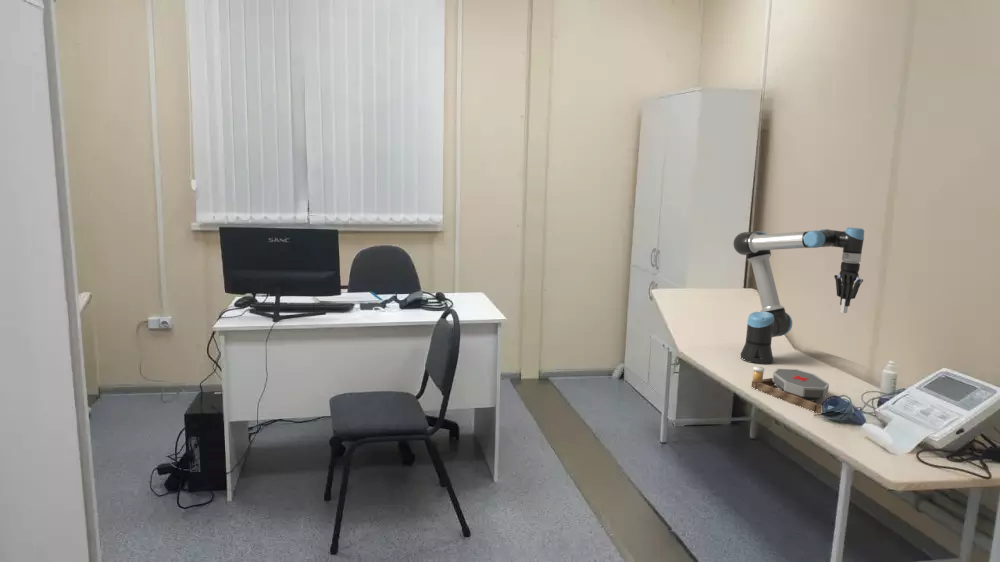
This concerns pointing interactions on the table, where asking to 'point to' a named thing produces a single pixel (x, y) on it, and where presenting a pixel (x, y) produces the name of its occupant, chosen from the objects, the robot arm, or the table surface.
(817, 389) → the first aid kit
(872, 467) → the table surface
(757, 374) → the pill bottle
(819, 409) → the brown piece
